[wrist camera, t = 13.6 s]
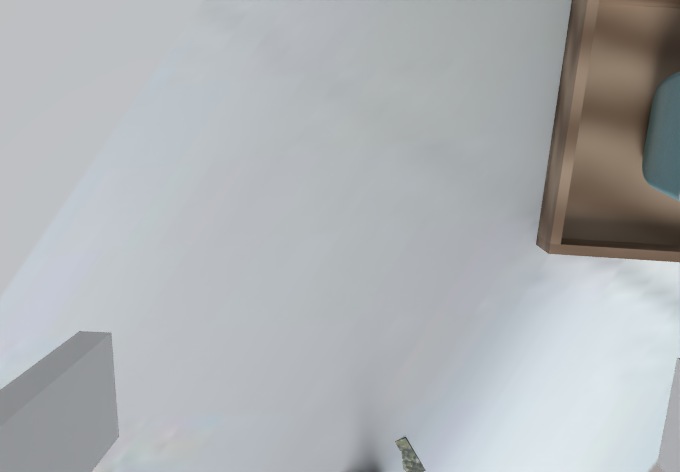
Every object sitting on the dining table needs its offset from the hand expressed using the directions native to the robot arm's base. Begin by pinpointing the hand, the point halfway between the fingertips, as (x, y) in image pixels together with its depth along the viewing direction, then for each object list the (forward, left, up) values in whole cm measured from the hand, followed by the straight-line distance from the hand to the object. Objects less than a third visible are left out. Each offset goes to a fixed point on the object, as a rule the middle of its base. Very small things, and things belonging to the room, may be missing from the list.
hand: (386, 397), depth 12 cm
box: (-7, +24, -32) cm, 40 cm away
